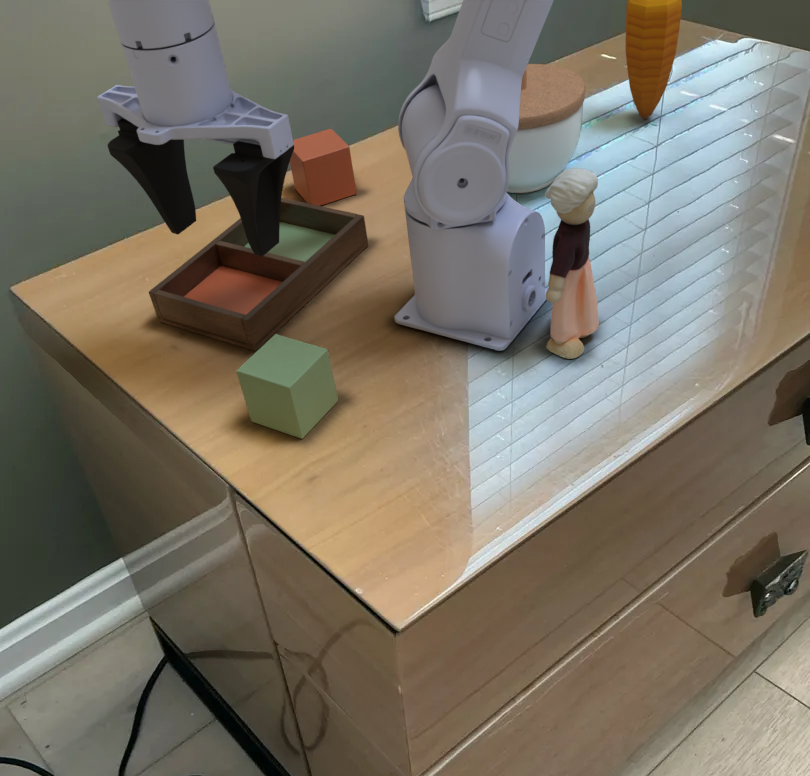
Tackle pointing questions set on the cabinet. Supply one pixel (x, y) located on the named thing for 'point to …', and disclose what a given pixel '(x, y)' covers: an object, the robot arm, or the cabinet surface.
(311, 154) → the terracotta block
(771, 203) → the cabinet surface
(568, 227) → the grandmother figurine
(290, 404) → the sage block
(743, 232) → the cabinet surface
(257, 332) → the sorting tray
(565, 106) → the trinket box
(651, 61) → the carrot
